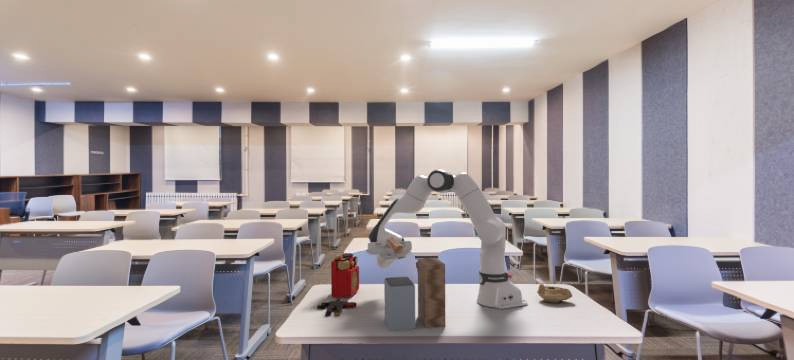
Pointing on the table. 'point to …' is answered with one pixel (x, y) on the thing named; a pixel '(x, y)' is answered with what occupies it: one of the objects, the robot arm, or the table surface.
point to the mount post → (431, 292)
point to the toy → (336, 306)
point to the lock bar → (395, 245)
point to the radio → (344, 276)
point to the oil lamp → (553, 293)
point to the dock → (399, 303)
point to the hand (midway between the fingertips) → (391, 241)
